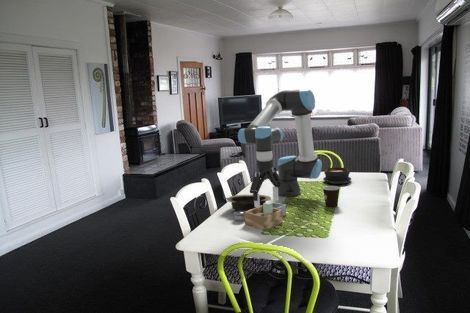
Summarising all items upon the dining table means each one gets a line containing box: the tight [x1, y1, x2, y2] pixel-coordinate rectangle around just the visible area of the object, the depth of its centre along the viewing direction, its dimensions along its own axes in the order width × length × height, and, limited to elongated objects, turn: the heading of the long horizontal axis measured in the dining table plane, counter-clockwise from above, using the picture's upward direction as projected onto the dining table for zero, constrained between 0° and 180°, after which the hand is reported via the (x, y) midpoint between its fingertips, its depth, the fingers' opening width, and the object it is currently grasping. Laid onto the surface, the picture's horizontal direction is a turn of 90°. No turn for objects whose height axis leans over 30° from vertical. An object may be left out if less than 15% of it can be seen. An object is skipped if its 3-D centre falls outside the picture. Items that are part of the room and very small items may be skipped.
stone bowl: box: [225, 193, 272, 212], centre depth 207 cm, size 25×25×9 cm
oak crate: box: [244, 205, 284, 231], centre depth 183 cm, size 13×13×7 cm
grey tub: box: [271, 201, 287, 217], centre depth 194 cm, size 8×8×6 cm
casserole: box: [322, 167, 352, 185], centre depth 256 cm, size 25×19×8 cm
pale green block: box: [263, 202, 273, 216], centre depth 181 cm, size 4×4×10 cm
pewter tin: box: [233, 210, 246, 223], centre depth 190 cm, size 6×6×5 cm
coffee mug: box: [322, 185, 340, 209], centre depth 207 cm, size 12×9×10 cm
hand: (266, 203), depth 180 cm, fingers open, 13 cm apart
